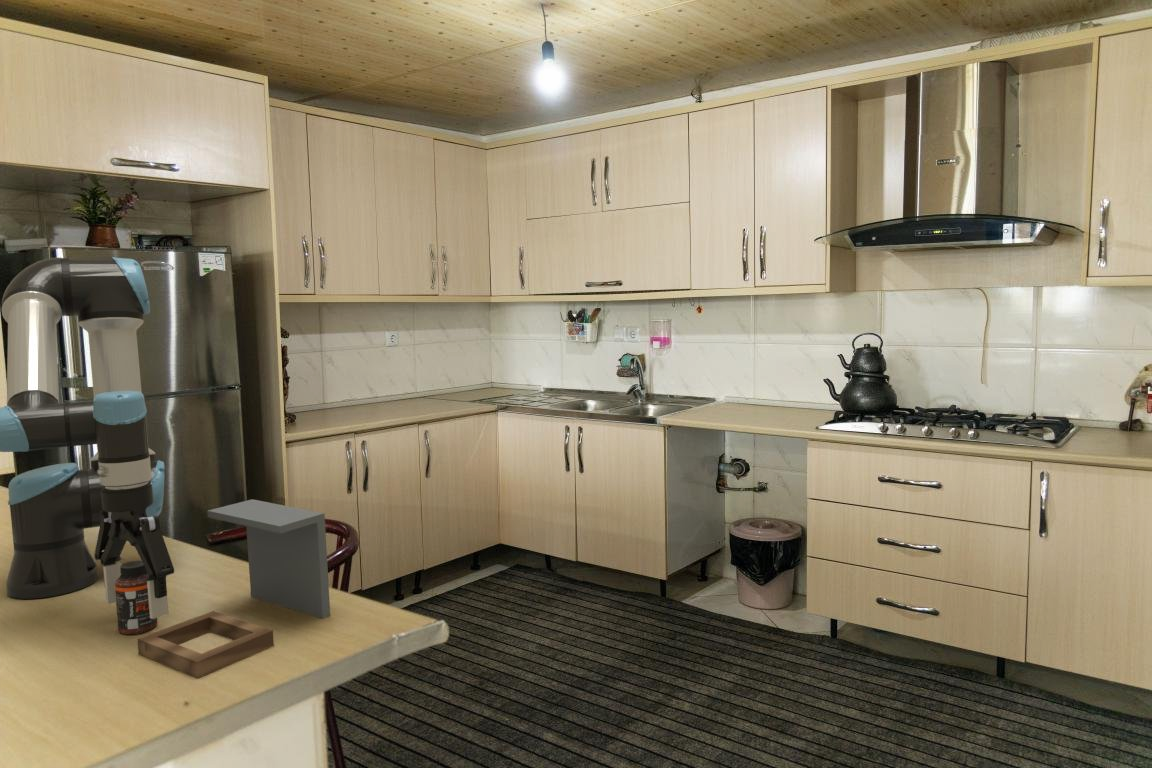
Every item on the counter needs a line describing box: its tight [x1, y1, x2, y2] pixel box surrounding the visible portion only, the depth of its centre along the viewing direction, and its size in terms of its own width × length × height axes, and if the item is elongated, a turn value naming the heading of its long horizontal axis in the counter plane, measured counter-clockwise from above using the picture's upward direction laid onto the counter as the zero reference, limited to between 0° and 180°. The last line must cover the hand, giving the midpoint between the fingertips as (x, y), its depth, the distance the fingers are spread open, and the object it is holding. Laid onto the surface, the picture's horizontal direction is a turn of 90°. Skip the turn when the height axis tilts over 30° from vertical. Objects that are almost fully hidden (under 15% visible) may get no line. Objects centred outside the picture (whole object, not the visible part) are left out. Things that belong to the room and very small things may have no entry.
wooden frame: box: [136, 610, 275, 679], centre depth 129 cm, size 16×13×2 cm
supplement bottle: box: [115, 560, 159, 635], centre depth 138 cm, size 6×6×11 cm
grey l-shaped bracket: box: [206, 498, 331, 619], centre depth 143 cm, size 20×9×18 cm, turn 57°
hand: (136, 608), depth 138 cm, fingers open, 13 cm apart
